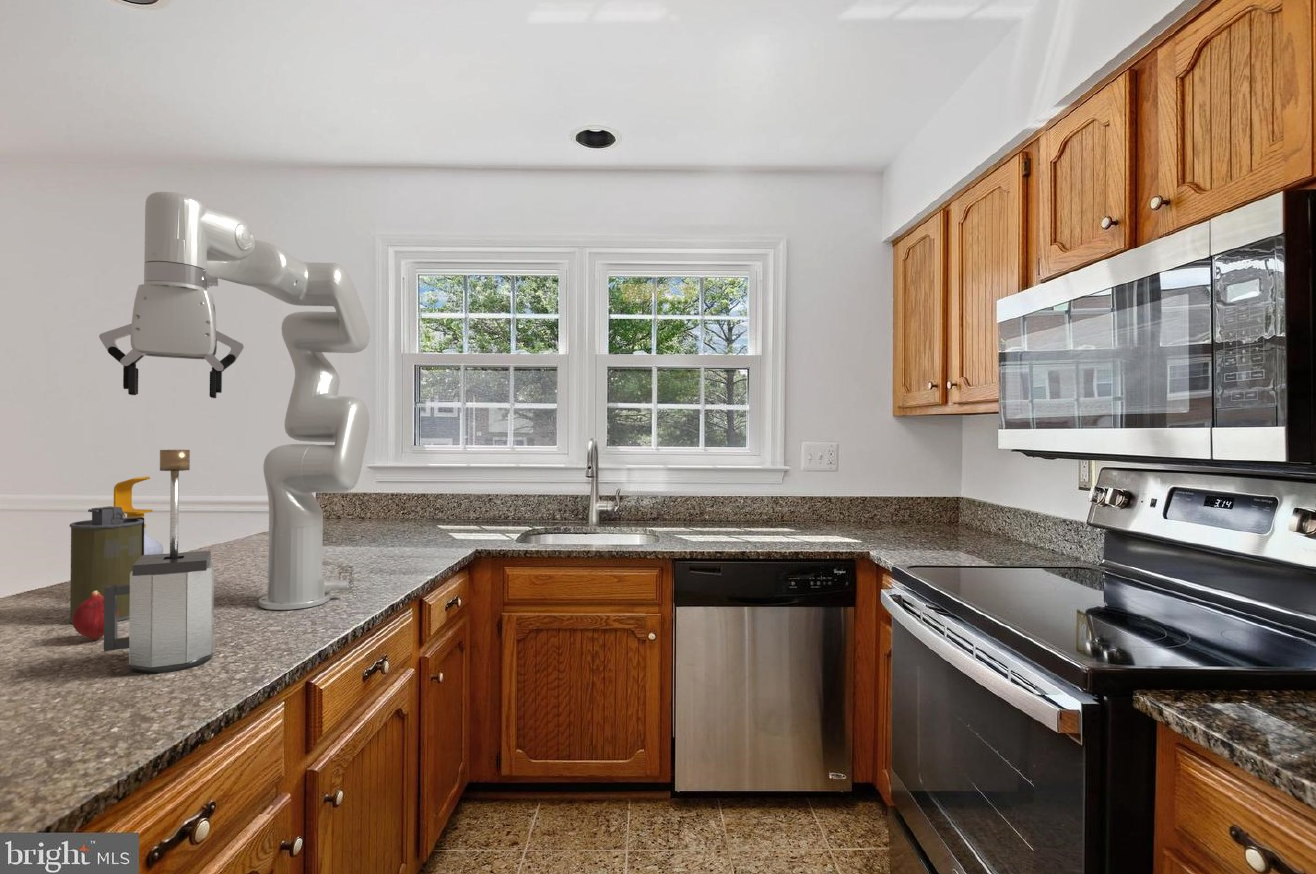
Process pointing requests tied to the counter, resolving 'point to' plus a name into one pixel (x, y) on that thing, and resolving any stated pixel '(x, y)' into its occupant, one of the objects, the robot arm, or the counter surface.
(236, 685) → the counter surface
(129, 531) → the canister
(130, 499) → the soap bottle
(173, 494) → the plunger
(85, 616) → the onion
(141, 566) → the french press
